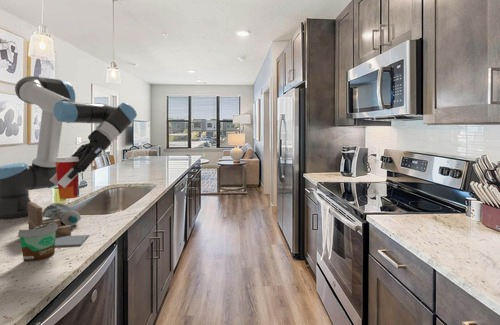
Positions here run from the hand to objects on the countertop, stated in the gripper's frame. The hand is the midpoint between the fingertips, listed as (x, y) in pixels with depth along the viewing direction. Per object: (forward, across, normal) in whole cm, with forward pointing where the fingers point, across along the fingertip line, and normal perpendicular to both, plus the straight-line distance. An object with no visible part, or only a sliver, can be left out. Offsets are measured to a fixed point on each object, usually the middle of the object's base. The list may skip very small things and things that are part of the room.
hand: (56, 183), depth 109 cm
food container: (+20, -8, -10) cm, 24 cm away
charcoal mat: (+13, 0, -17) cm, 21 cm away
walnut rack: (+14, +15, -16) cm, 26 cm away
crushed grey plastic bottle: (+8, +28, -22) cm, 37 cm away
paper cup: (+1, 0, -6) cm, 6 cm away
